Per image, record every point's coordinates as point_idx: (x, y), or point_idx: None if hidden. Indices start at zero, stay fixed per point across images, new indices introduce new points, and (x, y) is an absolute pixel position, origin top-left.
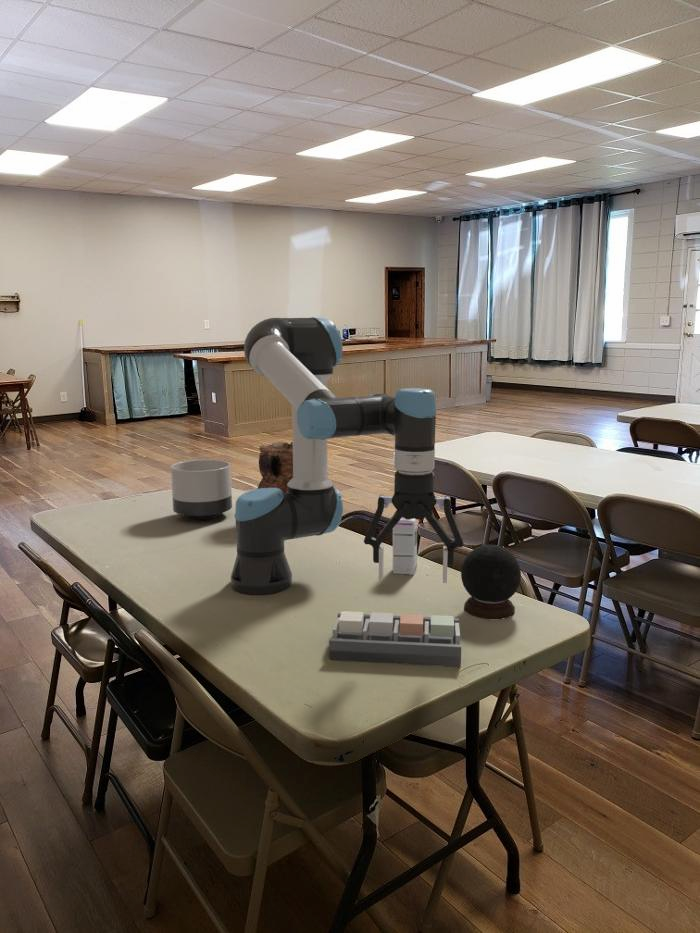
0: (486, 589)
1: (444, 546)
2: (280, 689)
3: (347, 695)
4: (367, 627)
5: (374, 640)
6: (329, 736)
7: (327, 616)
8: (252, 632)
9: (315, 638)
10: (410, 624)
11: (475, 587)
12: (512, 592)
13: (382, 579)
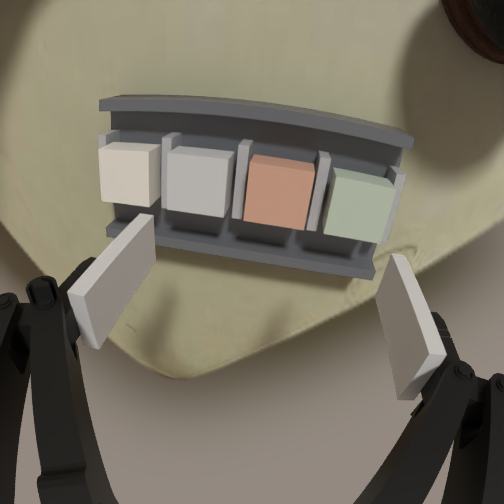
0: None
1: (432, 355)
2: None
3: (172, 316)
4: None
5: None
6: (168, 373)
7: (97, 27)
8: (5, 126)
9: (87, 134)
10: (271, 223)
11: (496, 37)
12: None
13: (154, 263)
